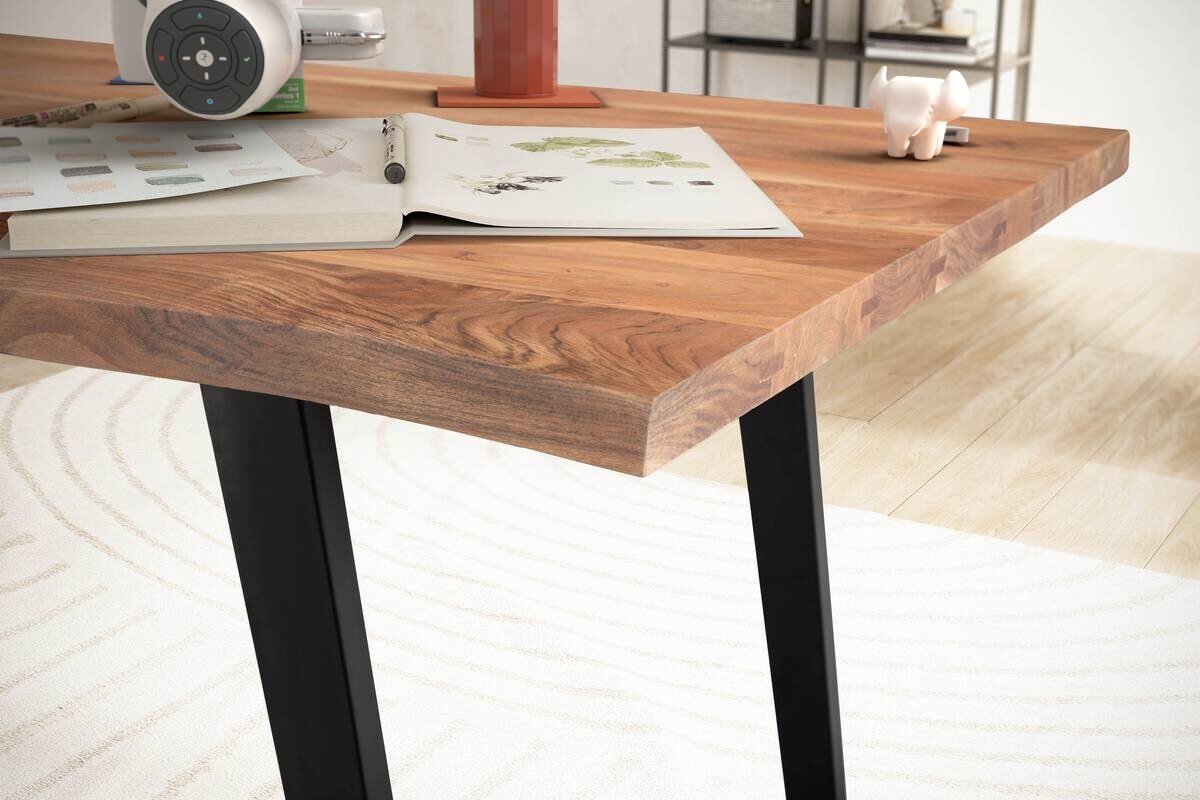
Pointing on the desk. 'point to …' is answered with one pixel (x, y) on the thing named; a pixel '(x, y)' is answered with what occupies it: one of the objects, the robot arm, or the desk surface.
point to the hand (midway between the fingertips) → (260, 24)
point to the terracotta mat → (469, 99)
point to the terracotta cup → (515, 48)
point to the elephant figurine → (917, 110)
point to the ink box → (289, 90)
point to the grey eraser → (956, 134)
